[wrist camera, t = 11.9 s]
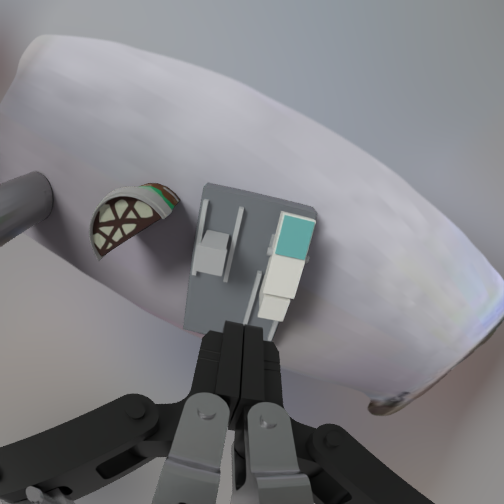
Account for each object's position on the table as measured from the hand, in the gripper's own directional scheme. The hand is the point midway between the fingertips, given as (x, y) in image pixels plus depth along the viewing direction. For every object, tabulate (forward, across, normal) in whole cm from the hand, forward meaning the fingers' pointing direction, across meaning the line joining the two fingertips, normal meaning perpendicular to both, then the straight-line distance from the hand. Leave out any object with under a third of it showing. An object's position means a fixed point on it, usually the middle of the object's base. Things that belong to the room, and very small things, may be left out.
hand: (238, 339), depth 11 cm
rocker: (+22, -6, +6) cm, 23 cm away
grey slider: (+26, +3, +8) cm, 27 cm away
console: (+29, -2, +12) cm, 32 cm away
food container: (+29, +15, +5) cm, 33 cm away
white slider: (+26, -6, +12) cm, 29 cm away
